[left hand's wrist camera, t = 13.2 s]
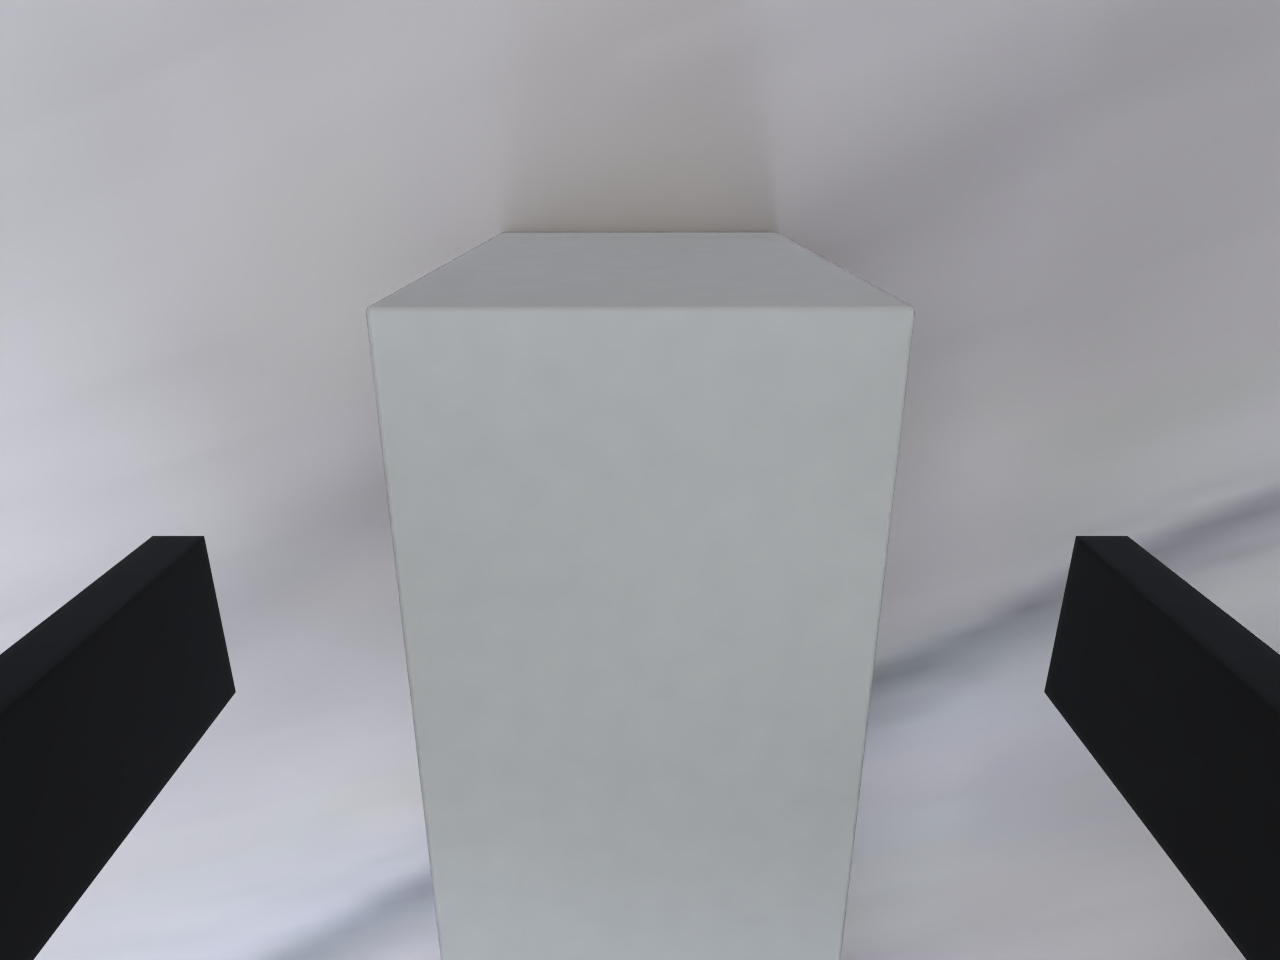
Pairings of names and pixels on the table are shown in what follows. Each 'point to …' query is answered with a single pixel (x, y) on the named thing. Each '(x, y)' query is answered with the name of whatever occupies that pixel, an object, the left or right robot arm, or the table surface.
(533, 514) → the beam
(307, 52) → the table surface
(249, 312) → the table surface
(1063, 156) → the table surface
